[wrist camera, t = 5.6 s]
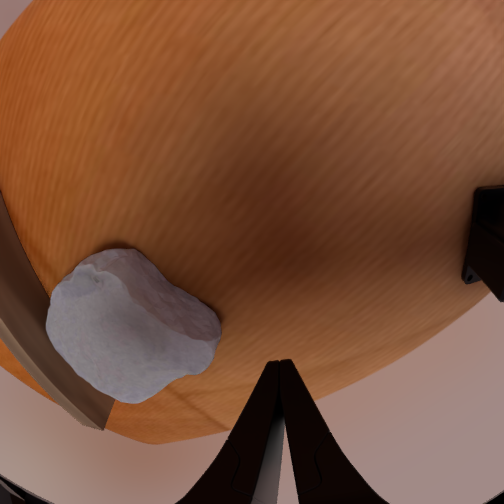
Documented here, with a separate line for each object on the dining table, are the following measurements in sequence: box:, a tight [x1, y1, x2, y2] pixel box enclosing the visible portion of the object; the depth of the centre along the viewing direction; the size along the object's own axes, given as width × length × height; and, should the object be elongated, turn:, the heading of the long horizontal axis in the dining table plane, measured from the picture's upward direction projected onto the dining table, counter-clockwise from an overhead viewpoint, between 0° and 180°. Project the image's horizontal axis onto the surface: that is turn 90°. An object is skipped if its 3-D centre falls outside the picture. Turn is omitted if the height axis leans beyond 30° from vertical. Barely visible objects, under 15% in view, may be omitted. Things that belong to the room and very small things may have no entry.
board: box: [0, 192, 115, 430], centre depth 15 cm, size 3×24×5 cm, turn 12°
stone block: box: [46, 249, 222, 403], centre depth 16 cm, size 12×5×10 cm
